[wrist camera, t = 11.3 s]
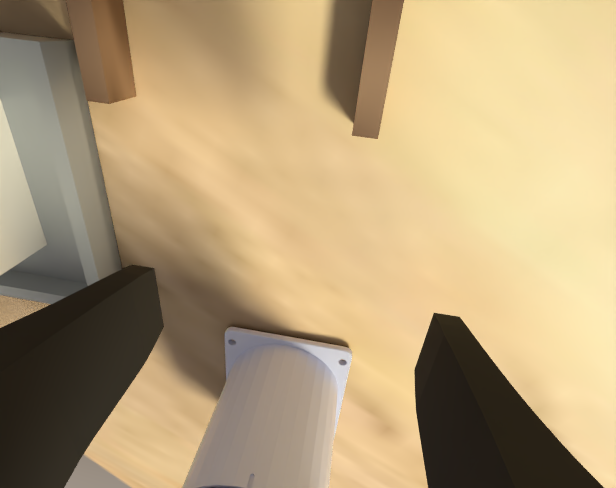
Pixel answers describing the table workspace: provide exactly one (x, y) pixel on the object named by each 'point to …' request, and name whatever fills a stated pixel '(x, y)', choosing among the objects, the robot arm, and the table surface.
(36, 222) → the beige rectangular block
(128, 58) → the walnut dock
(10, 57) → the grey tray
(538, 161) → the table surface
